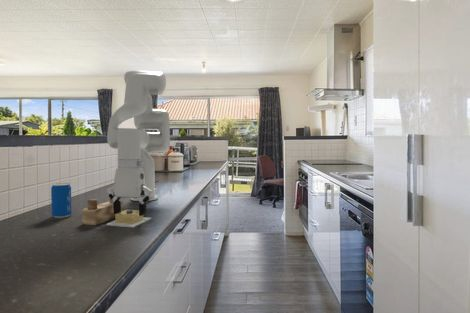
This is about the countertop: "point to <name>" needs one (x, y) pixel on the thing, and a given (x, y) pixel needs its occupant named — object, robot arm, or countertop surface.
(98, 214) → the plane body
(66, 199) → the beverage can
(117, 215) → the lever cap
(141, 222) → the mat
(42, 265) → the countertop surface
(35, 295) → the countertop surface
